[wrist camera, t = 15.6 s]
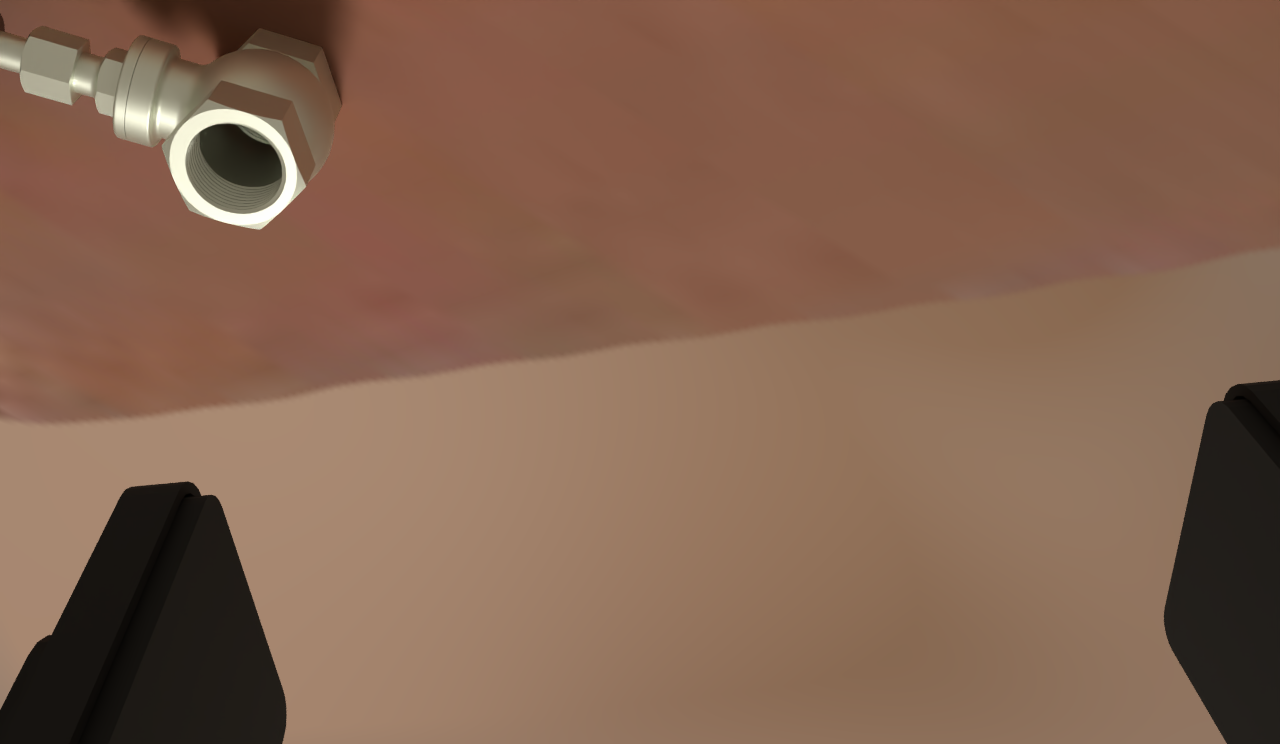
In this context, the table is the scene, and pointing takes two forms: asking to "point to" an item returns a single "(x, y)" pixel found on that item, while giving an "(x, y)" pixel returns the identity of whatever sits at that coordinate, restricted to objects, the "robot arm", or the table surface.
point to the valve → (201, 111)
